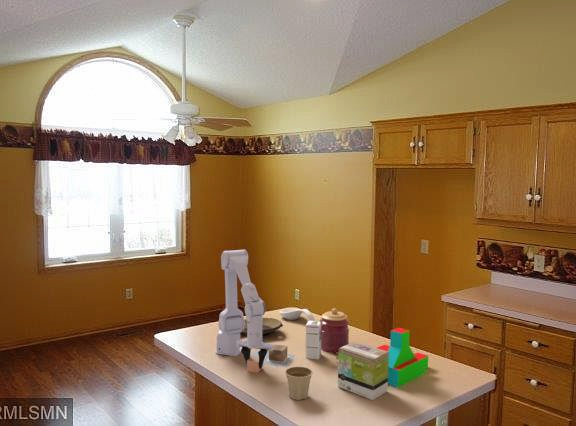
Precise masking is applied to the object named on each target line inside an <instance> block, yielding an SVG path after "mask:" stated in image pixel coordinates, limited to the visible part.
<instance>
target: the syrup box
mask: <svg viewBox="0 0 576 426" xmlns="http://www.w3.org/2000/svg"><path fill="white" fill-rule="evenodd" d="M321 357H322V350H321V322H320V320H315V321H308V320H307V322H306V324H305V359H312V360H319V359H321Z"/></svg>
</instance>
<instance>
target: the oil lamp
mask: <svg viewBox="0 0 576 426" xmlns="http://www.w3.org/2000/svg"><path fill="white" fill-rule="evenodd" d="M244 321H245V325H244V328H243V329H242V332H241V333H243V334H246V335H247V320H246V318H244ZM282 327H284V324H283V323H282V322H281V320H279V319H276V318H272V317H270V318H269V317H262V335H265V334H268V333H272V332H274V331H276V330H279V329H281V328H282Z"/></svg>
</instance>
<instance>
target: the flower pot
mask: <svg viewBox="0 0 576 426" xmlns="http://www.w3.org/2000/svg"><path fill="white" fill-rule="evenodd" d="M284 374H285V375H286V379H287V386H288V394H289V397H290V398H291V399H292V400H295V401H301V400H305V399H307V398H308V396H309V389H310V383H311V378H312V375H313V374H314V371H313V370H312V369H311V368H309V367H306V366H292V367H289V368H286V369H285V371H284Z"/></svg>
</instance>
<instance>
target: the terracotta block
mask: <svg viewBox="0 0 576 426" xmlns="http://www.w3.org/2000/svg"><path fill="white" fill-rule="evenodd" d="M262 369H263V367H262V368H261V369H259V357H252V356H251V357H250V358H249V359H248V360H247V366H246V372H251V373H259V372H260V371H261V370H262Z"/></svg>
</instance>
